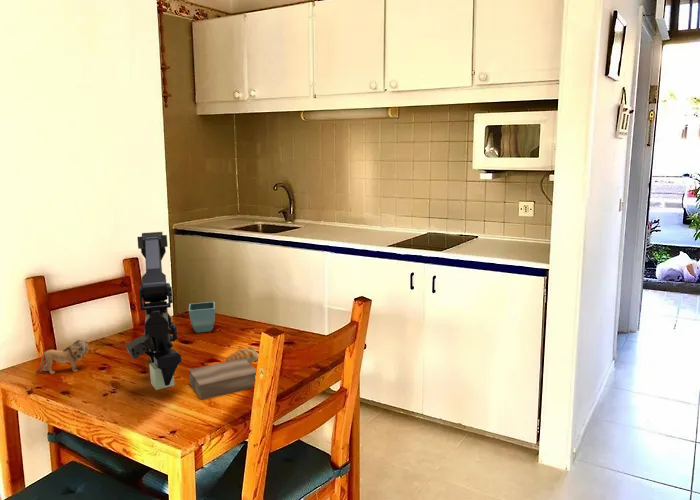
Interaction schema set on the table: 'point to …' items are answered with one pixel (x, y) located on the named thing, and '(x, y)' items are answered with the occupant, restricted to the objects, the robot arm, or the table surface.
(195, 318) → the flower pot
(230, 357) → the pastry
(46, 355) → the lion figurine
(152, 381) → the sage cube
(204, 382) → the walnut box
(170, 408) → the table surface
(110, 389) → the table surface
